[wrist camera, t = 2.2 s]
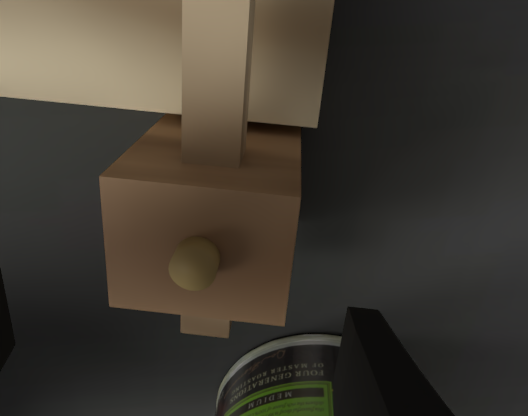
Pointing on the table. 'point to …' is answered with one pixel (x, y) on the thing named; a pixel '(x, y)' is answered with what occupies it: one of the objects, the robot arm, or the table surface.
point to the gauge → (206, 192)
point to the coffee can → (282, 378)
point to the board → (157, 55)
